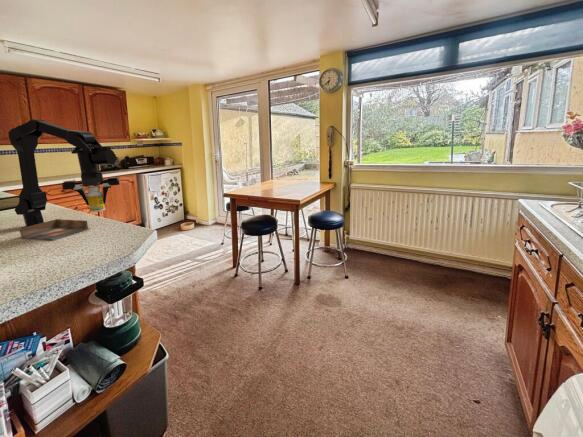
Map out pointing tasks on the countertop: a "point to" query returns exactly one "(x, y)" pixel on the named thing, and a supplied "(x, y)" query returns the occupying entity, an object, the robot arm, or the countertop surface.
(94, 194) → the supplement bottle
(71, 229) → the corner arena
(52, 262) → the countertop surface
